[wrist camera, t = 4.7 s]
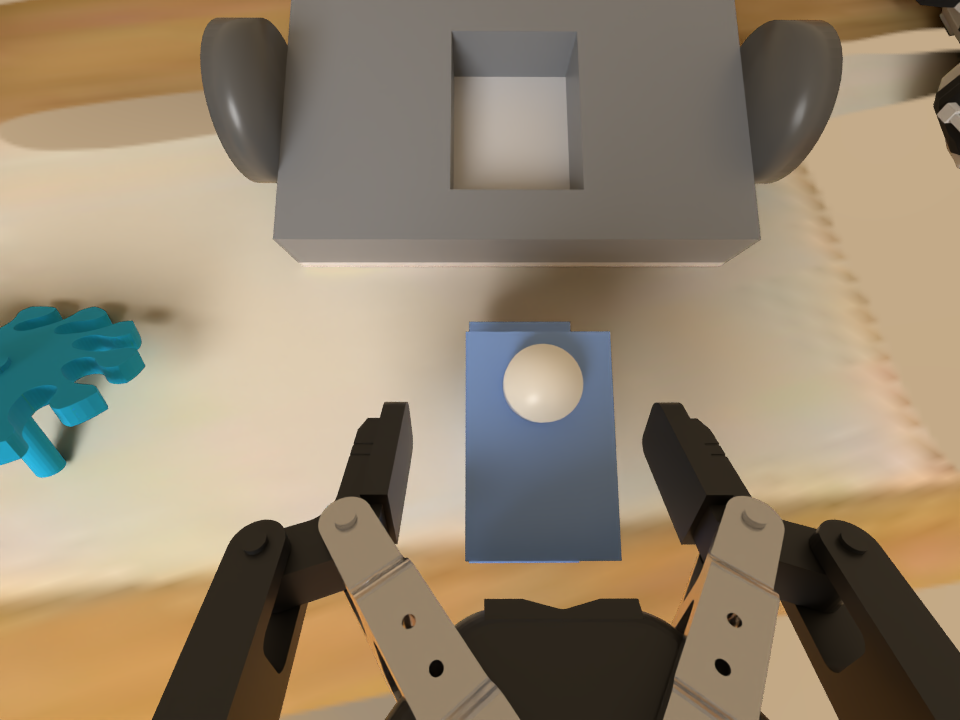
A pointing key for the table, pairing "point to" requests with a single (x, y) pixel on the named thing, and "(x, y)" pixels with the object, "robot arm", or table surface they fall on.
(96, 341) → the gear
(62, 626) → the table surface
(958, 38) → the robot toy
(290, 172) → the chassis
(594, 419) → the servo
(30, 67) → the table surface
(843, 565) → the robot arm
